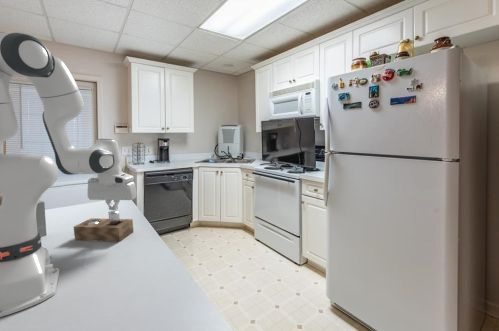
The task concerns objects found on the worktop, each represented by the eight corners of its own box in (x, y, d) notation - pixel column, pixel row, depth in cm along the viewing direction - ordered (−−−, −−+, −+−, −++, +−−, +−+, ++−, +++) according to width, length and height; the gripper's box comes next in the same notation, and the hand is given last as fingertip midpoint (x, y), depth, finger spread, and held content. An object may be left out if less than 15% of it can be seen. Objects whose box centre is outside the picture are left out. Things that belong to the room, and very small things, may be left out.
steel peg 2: (122, 222, 110) (120, 210, 109) (116, 226, 106) (115, 213, 105) (113, 222, 110) (112, 210, 110) (107, 225, 106) (106, 213, 106)
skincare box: (20, 237, 110) (15, 202, 108) (40, 231, 116) (35, 198, 114) (29, 241, 106) (24, 204, 104) (49, 234, 112) (44, 200, 110)
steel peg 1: (102, 233, 112) (100, 221, 111) (95, 236, 108) (94, 224, 107) (93, 232, 112) (92, 220, 112) (86, 236, 108) (85, 224, 108)
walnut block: (133, 232, 113) (132, 219, 113) (119, 241, 104) (118, 227, 103) (92, 230, 116) (91, 218, 115) (75, 240, 106) (73, 226, 105)
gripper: (81, 179, 104) (85, 211, 106) (128, 179, 101) (131, 212, 103) (92, 176, 110) (96, 206, 112) (137, 176, 107) (139, 207, 109)
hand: (113, 209), depth 107 cm, fingers closed
